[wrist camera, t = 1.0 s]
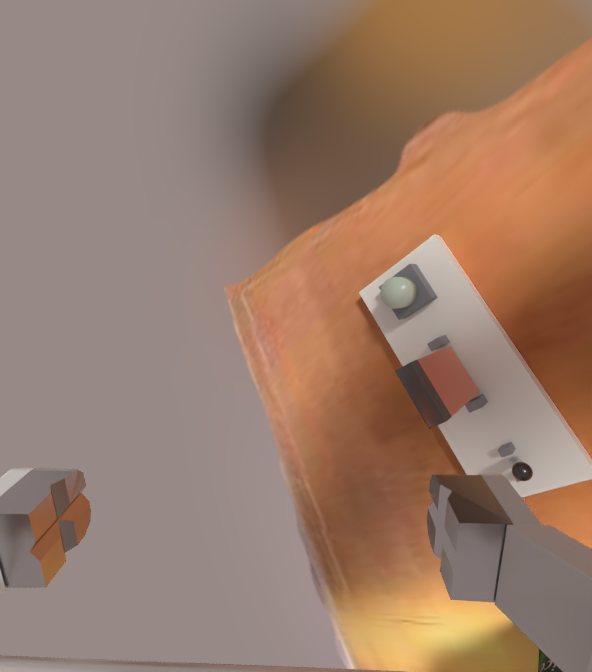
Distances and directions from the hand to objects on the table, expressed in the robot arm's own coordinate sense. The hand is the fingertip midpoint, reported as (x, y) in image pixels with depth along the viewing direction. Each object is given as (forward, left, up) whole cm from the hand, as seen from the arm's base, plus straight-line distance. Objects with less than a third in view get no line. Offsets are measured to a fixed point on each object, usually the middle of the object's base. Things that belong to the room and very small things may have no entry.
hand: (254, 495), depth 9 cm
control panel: (+8, -4, -43) cm, 44 cm away
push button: (+2, -13, -39) cm, 41 cm away
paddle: (+8, -4, -40) cm, 41 cm away
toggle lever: (+13, +6, -40) cm, 43 cm away
